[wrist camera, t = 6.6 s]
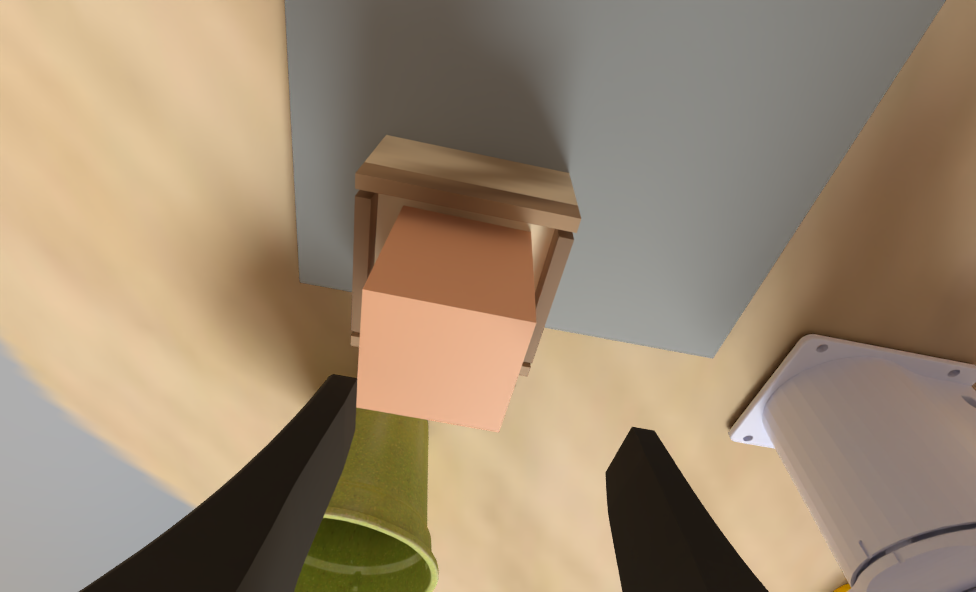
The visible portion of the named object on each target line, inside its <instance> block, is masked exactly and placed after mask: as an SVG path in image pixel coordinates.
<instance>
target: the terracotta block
mask: <svg viewBox="0 0 976 592" xmlns="http://www.w3.org/2000/svg"><path fill="white" fill-rule="evenodd" d="M535 326H536V307H535V290H534V273H533V256H532V239H531V232H528V231H524V230H519V229H514V228H509V227H505V226H500V225H495V224H490V223H485V222H481V221H476V220H471V219H466V218H462V217H457V216H452V215H447V214H443V213H438V212H433V211H428V210H423V209H419V208H414V207H409V206H404V205H403V207H402V209H401V211H400V213H399V215H398V217H397V219H396V221H395V223H394V225H393V227H392V229H391V231H390V234H389V236H388V238H387V240H386V242H385V244H384V246H383V248H382V250H381V252H380V254H379V256H378V258H377V260H376V262H375V264H374V266H373V269H372V271H371V273H370V275H369V277H368V279H367V281H366V283H365V285H364V287H363V289H362V306H361V323H360V341H359V358H358V376H357V401H356V407H357V408H362V409H368V410H374V411H380V412H385V413H391V414H397V415H403V416H408V417H414V418H420V419H425V420H431V421H437V422H443V423H448V424H454V425H460V426H466V427H471V428H477V429H483V430H488V431H494V432H499V431H500V428H501V425H502V422H503V419H504V416H505V413H506V410H507V408H508V405H509V402H510V399H511V396H512V393H513V390H514V387H515V384H516V381H517V378H518V375H519V373H520V370H521V367H522V364H523V361H524V358H525V355H526V352H527V349H528V346H529V343H530V340H531V338H532V335H533V332H534V329H535Z"/></svg>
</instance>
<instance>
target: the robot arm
mask: <svg viewBox="0 0 976 592" xmlns="http://www.w3.org/2000/svg"><path fill="white" fill-rule="evenodd" d="M820 345H821V346H820ZM818 346H819V347H818ZM974 383H976V365H973V364H968V363H963V362H957V361H952V360H947V359H942V358H936V357H931V356H926V355H921V354H916V353H910V352H905V351H900V350H895V349H889V348H884V347H879V346H874V345H868V344H863V343H858V342H853V341H848V340H842V339H837V338H832V337H827V336H821V335H816V334H809V335H806V336H804V337H802V338H801V339H800V340H799V341H798V342H797V344H796V345H795V346H794V348H793V349H792V350H791V352H790V353H789V354H788V355H787V357H786V358H785V359H784V361H783V362H782V363H781V364H780V366H779V367H778V368H777V370H776V371H775V372H774V373H773V375H772V376H771V377H770V379H769V380H768V381H767V382H766V384H765V385H764V386H763V388H762V389H761V390H760V392H759V393H758V394H757V395H756V397H755V398H754V399H753V401H752V402H751V403H750V404H749V406H748V407H747V408H746V410H745V411H744V412H743V413H742V415H741V416H740V417H739V419H738V420H737V421H736V422H735V424H734V425H733V426H732V428H731V429H730V430H729V432H728V434H729V437H730V439H731V440H732V441H735V442H740V443H746V444H752V445H757V446H763V447H769V448H775V449H776V451H777V453H778V455H779V457H780V458H781V460H782V462H783V464H784V466H785V468H786V469H787V471H788V473H789V475H790V477H791V479H792V480H793V482H794V484H795V486H796V488H797V490H798V491H799V493H800V495H801V497H802V499H803V501H804V502H805V504H806V506H807V508H808V510H809V512H810V513H811V515H812V517H813V519H814V521H815V523H816V524H817V526H818V528H819V530H820V532H821V534H822V535H823V537H824V539H825V541H826V543H827V545H828V546H829V548H830V550H831V552H832V554H833V556H834V557H835V559H836V561H837V563H838V565H839V567H840V568H841V570H842V572H843V574H844V576H845V578H846V579H847V581H848V583H849V585H850V587H851V589H850V590H848V591H847V592H976V390H974V389H973V388H972V387H971V386H972V385H973V384H974ZM356 401H357V378H352V377H346V376H341V375H335V374H333V375H331V376H329V377H328V378H327V380H326V381H325V382H324V383H323V385H322V386H321V387H320V388H319V390H318V391H317V392H316V393H315V394H314V396H313V397H312V398H311V399H310V400H309V401H308V402H307V404H306V405H305V406H304V407H303V408H302V409H301V410H300V411H299V412H298V414H297V415H296V416H295V417H294V418H293V419H292V420H291V421H290V422H289V423H288V424H287V425H286V426H285V427H284V428H283V429H282V430H281V431H280V433H279V434H278V435H277V436H276V437H275V438H274V439H273V440H272V441H271V442H270V443H269V444H268V445H267V446H266V447H265V448H264V449H262V450H261V451H260V452H259V453H258V454H257V455H256V456H255V457H254V458H253V459H252V460H251V461H250V462H249V463H248V464H247V465H245V466H244V467H243V468H242V469H241V470H240V471H239V472H238V473H237V474H236V475H235V476H233V477H232V478H231V479H230V480H229V481H228V482H227V483H226V484H224V485H223V486H222V487H221V488H220V489H219V490H217V491H216V492H215V493H214V494H213V495H211V496H210V497H209V498H208V499H206V500H205V501H204V502H203V503H202V504H200V505H199V506H198V507H197V508H195V509H194V510H193V511H192V512H190V513H189V514H188V515H186V516H185V517H184V518H183V519H181V520H180V521H179V522H177V523H176V524H175V525H173V526H172V527H171V528H170V529H168V530H167V531H166V532H164V533H163V534H162V535H160V536H159V537H158V538H156V539H155V540H153V541H152V542H151V543H149V544H148V545H147V546H145V547H144V548H142V549H141V550H140V551H138V552H137V553H135V554H134V555H132V556H131V557H130V558H128V559H126V560H125V561H123V562H122V563H121V564H119V565H118V566H116V567H115V568H113V569H112V570H110V571H109V572H107V573H106V574H104V575H103V576H101V577H100V578H99V579H97V580H96V581H94V582H93V583H91V584H90V585H88V586H87V587H85V588H84V589H82V590H80V591H79V592H294V590H295V587H296V584H297V581H298V578H299V575H300V572H301V570H302V567H303V564H304V562H305V559H306V557H307V554H308V552H309V549H310V547H311V545H312V542H313V540H314V538H315V535H316V533H317V531H318V528H319V526H320V524H321V521H322V519H323V517H324V514H325V512H326V509H327V507H328V505H329V502H330V500H331V498H332V495H333V493H334V491H335V488H336V486H337V483H338V481H339V479H340V476H341V474H342V471H343V469H344V466H345V463H346V459H347V456H348V453H349V450H350V446H351V443H352V440H353V436H354V433H355V426H356ZM606 491H607V505H608V515H609V521H610V527H611V532H612V538H613V543H614V549H615V554H616V559H617V565H618V570H619V575H620V581H621V586H622V592H769V591H768V590H767V589H766V588H765V587H764V586H763V584H762V583H761V582H760V581H759V580H758V578H757V577H756V576H755V575H754V574H753V572H752V571H751V570H750V568H749V567H748V566H747V565H746V563H745V562H744V561H743V560H742V558H741V557H740V556H739V554H738V553H737V552H736V550H735V549H734V548H733V546H732V545H731V544H730V542H729V541H728V540H727V538H726V537H725V536H724V534H723V533H722V532H721V530H720V529H719V527H718V526H717V525H716V523H715V522H714V520H713V519H712V518H711V516H710V515H709V513H708V512H707V510H706V509H705V507H704V506H703V505H702V503H701V502H700V500H699V499H698V497H697V496H696V494H695V493H694V491H693V490H692V488H691V487H690V485H689V484H688V482H687V481H686V479H685V478H684V476H683V474H682V473H681V471H680V470H679V468H678V467H677V465H676V464H675V462H674V460H673V459H672V457H671V456H670V454H669V453H668V451H667V450H666V448H665V446H664V445H663V443H662V442H661V440H660V439H659V437H658V436H657V434H656V432H655V431H653V430H647V429H642V428H636V427H632V428H631V429H630V431H629V433H628V435H627V436H626V438H625V440H624V441H623V443H622V445H621V447H620V448H619V450H618V452H617V454H616V455H615V457H614V459H613V460H612V462H611V464H610V466H609V467H608V469H607V471H606Z"/></svg>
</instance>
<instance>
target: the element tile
mask: <svg viewBox="0 0 976 592" xmlns="http://www.w3.org/2000/svg"><path fill="white" fill-rule="evenodd" d="M850 589H851V587H850V585H849V584H845V585H843V586H841V587H839V588H837V589H836V590H834V591H833V592H847V591H848V590H850Z"/></svg>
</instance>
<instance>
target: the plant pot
mask: <svg viewBox="0 0 976 592" xmlns="http://www.w3.org/2000/svg"><path fill="white" fill-rule="evenodd" d="M427 483H428V422H427V420H425V419H420V418H414V417H408V416H403V415H397V414H391V413H385V412H380V411H374V410H368V409H362V408H357V407H356V426H355V433H354V436H353V440H352V443H351V446H350V450H349V453H348V456H347V459H346V463H345V466H344V469H343V471H342V474H341V476H340V479H339V481H338V483H337V486H336V488H335V491H334V493H333V495H332V498H331V500H330V502H329V505H328V507H327V509H326V512H325V514H324V517H323V519H322V521H321V524H320V526H319V528H318V531H317V533H316V535H315V538H314V540H313V542H312V545H311V547H310V549H309V552H308V554H307V557H306V559H305V562H304V564H303V567H302V570H301V572H300V575H299V578H298V581H297V584H296V587H295V590H294V592H433V590H434V589H435V587H436V585H437V582H438V575H439V573H438V565H437V561H436V559H435V557H434V555H433V553H432V552H431V536H430V533H429V530H428V528H427Z"/></svg>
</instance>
